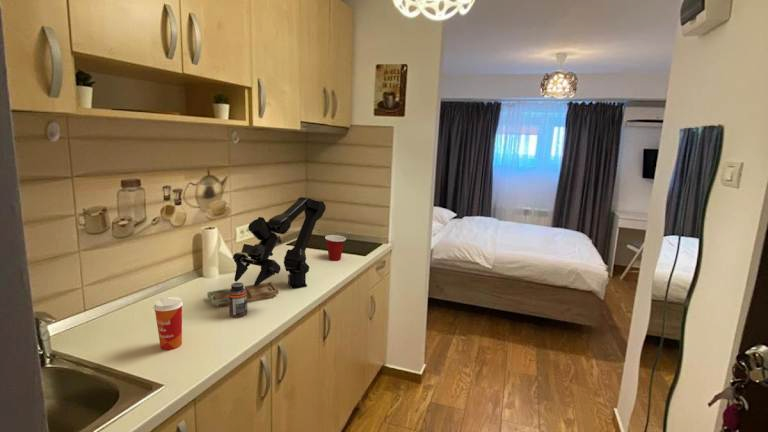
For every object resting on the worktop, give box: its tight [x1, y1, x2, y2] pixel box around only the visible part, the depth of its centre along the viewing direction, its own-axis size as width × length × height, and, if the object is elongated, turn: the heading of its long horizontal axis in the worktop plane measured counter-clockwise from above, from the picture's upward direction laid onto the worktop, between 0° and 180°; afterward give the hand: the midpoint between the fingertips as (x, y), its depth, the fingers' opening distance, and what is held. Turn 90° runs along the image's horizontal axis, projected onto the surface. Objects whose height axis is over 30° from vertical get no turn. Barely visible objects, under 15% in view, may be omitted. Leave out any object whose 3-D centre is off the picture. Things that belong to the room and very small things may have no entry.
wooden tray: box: [206, 281, 279, 308], centre depth 157 cm, size 25×12×2 cm, turn 121°
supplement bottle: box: [228, 281, 248, 318], centre depth 142 cm, size 6×6×11 cm
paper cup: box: [152, 296, 184, 351], centre depth 119 cm, size 8×8×14 cm
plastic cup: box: [324, 234, 347, 262], centre depth 209 cm, size 11×11×12 cm
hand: (244, 283), depth 144 cm, fingers open, 9 cm apart
